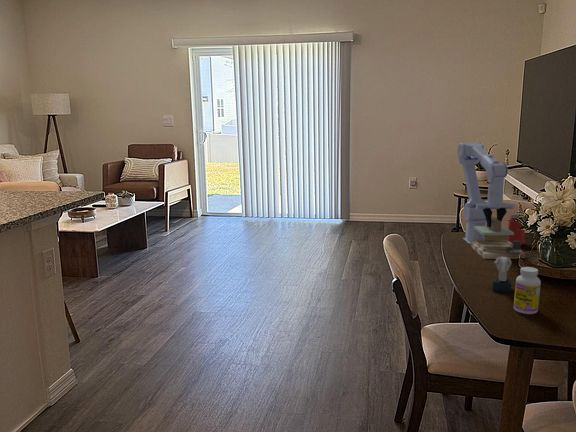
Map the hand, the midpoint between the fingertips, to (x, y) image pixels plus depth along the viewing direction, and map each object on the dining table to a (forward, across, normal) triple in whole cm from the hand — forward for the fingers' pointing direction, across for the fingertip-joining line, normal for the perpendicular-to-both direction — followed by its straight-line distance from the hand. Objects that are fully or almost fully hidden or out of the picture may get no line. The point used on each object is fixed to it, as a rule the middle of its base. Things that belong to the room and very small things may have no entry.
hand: (493, 226), depth 219 cm
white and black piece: (+11, -12, -45) cm, 48 cm away
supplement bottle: (+12, -11, -63) cm, 65 cm away
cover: (+2, 0, 0) cm, 2 cm away
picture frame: (+10, +2, -1) cm, 11 cm away
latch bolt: (+7, +5, -10) cm, 14 cm away
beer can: (+10, +14, +12) cm, 21 cm away
